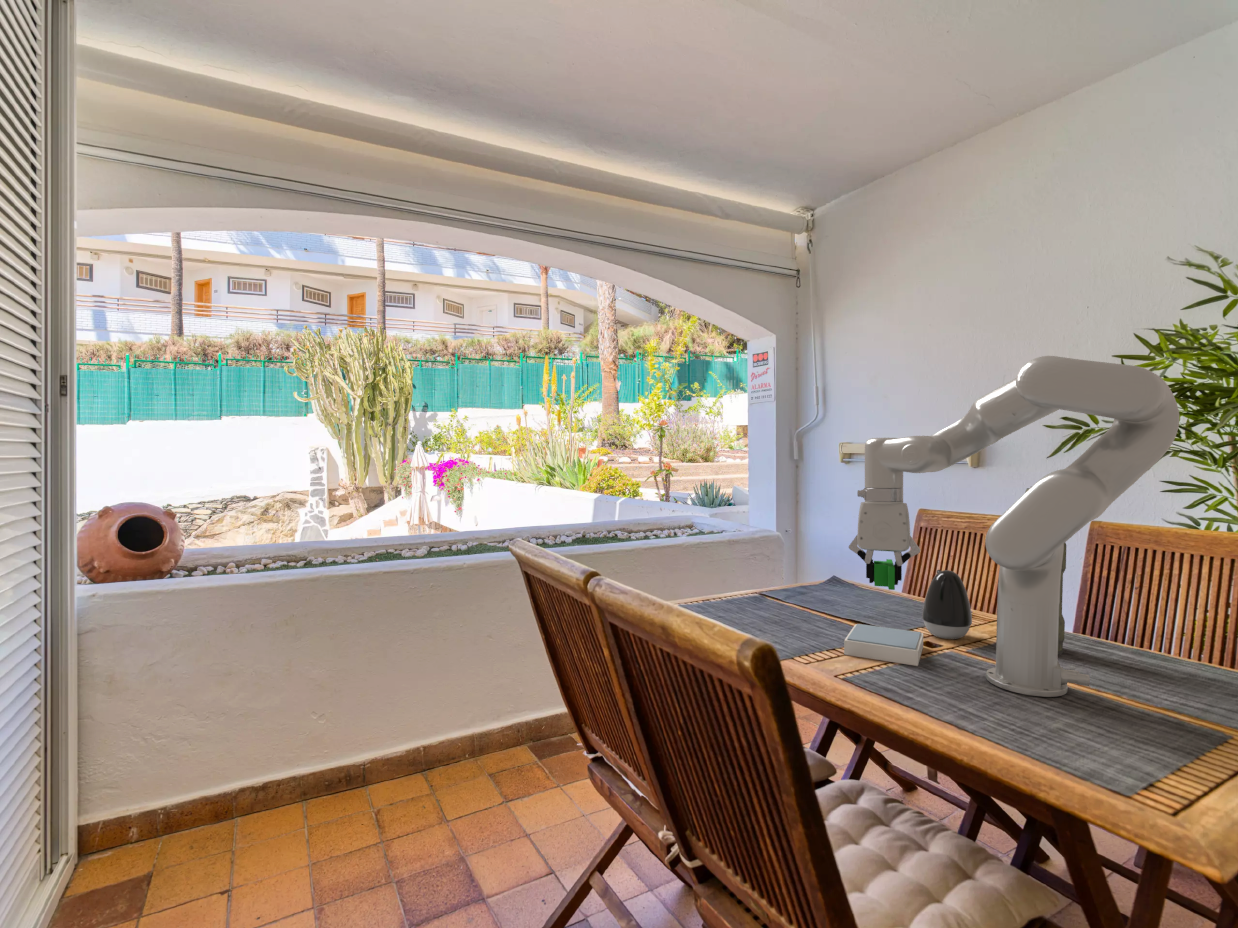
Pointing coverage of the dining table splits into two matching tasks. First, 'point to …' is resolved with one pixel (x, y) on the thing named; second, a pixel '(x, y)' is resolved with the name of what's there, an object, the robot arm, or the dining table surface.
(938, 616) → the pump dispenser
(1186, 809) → the dining table surface
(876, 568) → the pipe clamp
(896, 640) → the stand
